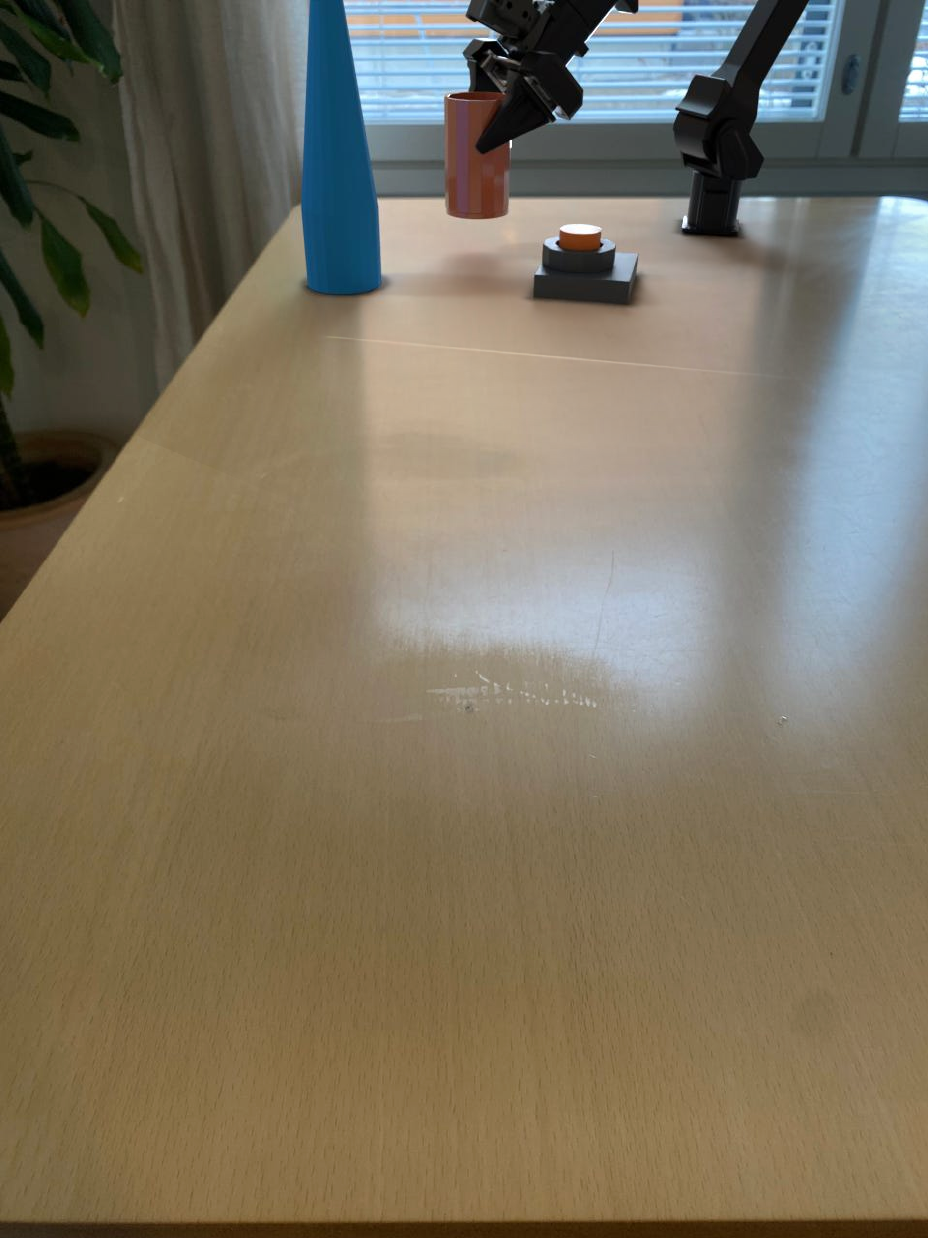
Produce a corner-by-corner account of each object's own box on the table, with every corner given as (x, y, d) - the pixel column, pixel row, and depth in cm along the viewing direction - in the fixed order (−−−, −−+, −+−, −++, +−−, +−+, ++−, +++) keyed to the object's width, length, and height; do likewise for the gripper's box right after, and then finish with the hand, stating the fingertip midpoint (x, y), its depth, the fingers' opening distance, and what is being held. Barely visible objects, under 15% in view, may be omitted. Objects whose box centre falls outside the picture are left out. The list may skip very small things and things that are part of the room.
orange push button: (561, 241, 94) (563, 222, 92) (602, 244, 93) (603, 225, 92) (555, 251, 90) (556, 232, 89) (597, 254, 90) (599, 235, 89)
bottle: (370, 296, 90) (352, -104, 73) (297, 291, 91) (262, -105, 74) (389, 275, 96) (376, -100, 79) (320, 271, 97) (292, -100, 80)
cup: (438, 206, 103) (436, 92, 97) (496, 202, 105) (499, 90, 98) (456, 221, 98) (455, 101, 92) (517, 216, 100) (521, 98, 93)
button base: (549, 269, 98) (551, 228, 96) (636, 275, 97) (640, 234, 94) (533, 297, 90) (535, 254, 88) (627, 305, 89) (632, 261, 86)
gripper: (481, -56, 96) (383, 73, 99) (561, -54, 82) (444, 96, 85) (547, 33, 103) (453, 151, 106) (632, 48, 89) (520, 184, 92)
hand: (465, 144), depth 97 cm, fingers closed on cup, 7 cm apart
